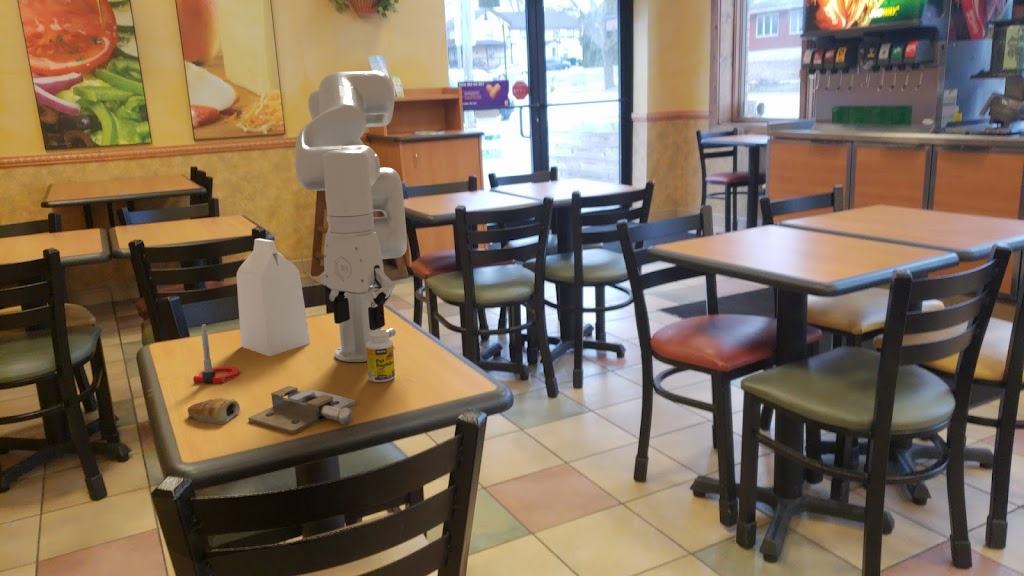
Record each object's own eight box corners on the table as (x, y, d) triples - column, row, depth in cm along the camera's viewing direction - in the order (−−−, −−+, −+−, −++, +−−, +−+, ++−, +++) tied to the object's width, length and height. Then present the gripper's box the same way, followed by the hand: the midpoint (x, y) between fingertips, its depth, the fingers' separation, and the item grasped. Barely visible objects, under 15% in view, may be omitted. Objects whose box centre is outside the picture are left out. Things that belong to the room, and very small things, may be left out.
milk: (241, 346, 191) (228, 241, 185) (282, 334, 200) (270, 233, 193) (269, 356, 184) (256, 246, 177) (310, 343, 192) (299, 238, 186)
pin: (304, 407, 152) (302, 393, 152) (353, 421, 146) (351, 406, 145) (292, 413, 150) (290, 398, 149) (341, 427, 143) (339, 411, 142)
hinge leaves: (312, 393, 160) (311, 376, 159) (356, 404, 154) (354, 386, 153) (248, 421, 147) (246, 403, 146) (293, 434, 141) (290, 416, 140)
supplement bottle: (375, 385, 163) (371, 338, 161) (364, 378, 168) (360, 332, 165) (399, 379, 166) (396, 333, 164) (388, 372, 171) (384, 327, 168)
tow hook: (211, 370, 177) (189, 383, 168) (206, 314, 174) (183, 325, 165) (247, 371, 176) (226, 385, 167) (242, 315, 173) (220, 325, 164)
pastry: (180, 422, 148) (177, 403, 148) (202, 409, 155) (199, 390, 154) (224, 426, 146) (221, 407, 145) (244, 412, 152) (242, 393, 152)
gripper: (298, 224, 134) (308, 323, 138) (374, 231, 125) (382, 337, 129) (330, 217, 140) (339, 313, 144) (405, 224, 131) (412, 325, 135)
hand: (359, 324), depth 137 cm, fingers open, 7 cm apart
